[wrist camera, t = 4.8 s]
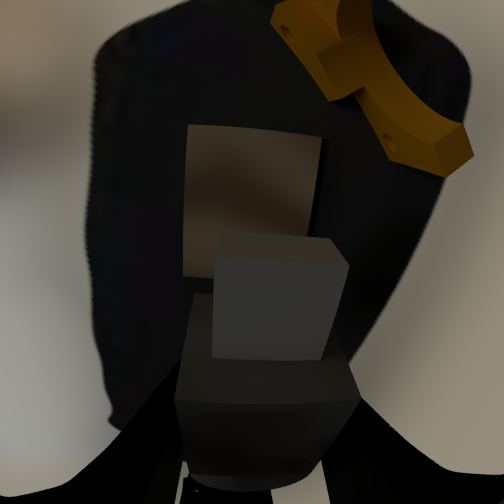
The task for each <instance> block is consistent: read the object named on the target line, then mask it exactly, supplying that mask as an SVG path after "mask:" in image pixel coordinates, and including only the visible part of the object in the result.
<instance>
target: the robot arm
mask: <svg viewBox="0 0 504 504" xmlns="http://www.w3.org/2000/svg"><path fill="white" fill-rule="evenodd" d="M180 364H181V359H180V360H179V361H178V362H177V364H176V365H175V366H174V367H173V369H172V370H171V371H170V372H169V374H168V375H167V376H166V377H165V378H164V380H163V381H162V382H161V383H160V385H159V386H158V387H157V388H156V390H155V391H154V392H153V393H152V394H151V396H150V397H149V398H148V399H147V401H146V402H145V403H144V404H143V405H142V407H141V408H140V409H139V410H138V412H137V413H136V414H135V415H134V416H133V418H132V419H131V420H130V421H129V423H128V424H127V425H126V426H125V428H126V429H125V428H123V430H122V431H121V432H120V433H119V435H118V436H117V437H116V438H115V439H114V440H113V441H112V442H111V444H110V445H109V446H108V447H107V448H106V449H105V450H104V451H103V452H102V453H101V454H100V455H99V456H97V457H96V458H95V459H94V460H93V461H92V462H91V463H90V464H88V465H87V466H86V467H85V468H84V469H83V470H82V471H80V472H79V473H78V474H77V475H76V476H75V477H73V478H72V479H71V480H70V481H68V482H66V483H64V484H62V485H60V486H57V487H54V488H50V489H46V490H42V491H39V492H34V493H30V494H25V495H21V496H15V497H4V496H0V504H175V499H176V493H177V488H178V483H179V477H180V472H181V467H182V462H183V457H184V448H183V443H182V438H181V433H180V428H179V423H178V418H177V412H176V406H175V400H174V397H175V392H176V386H177V380H178V375H179V369H180ZM321 462H322V467H323V471H324V476H325V481H326V485H327V490H328V495H329V500H330V504H504V474H502V475H485V474H471V473H459V472H453V471H450V470H447V469H445V468H443V467H441V466H439V465H438V464H437V463H436V462H434V461H433V460H431V459H430V458H428V457H427V456H426V455H425V454H423V453H422V452H420V451H419V450H418V449H416V448H415V447H414V446H413V445H411V444H410V443H409V442H408V441H407V440H405V439H404V438H403V437H402V436H401V435H400V434H399V433H398V432H397V431H395V429H393V428H392V427H390V425H389V424H388V423H387V422H386V421H385V420H384V419H383V418H382V417H381V416H380V415H379V414H378V413H377V412H376V411H375V410H374V409H373V408H372V407H371V406H370V405H369V404H368V403H367V402H366V401H365V400H364V399H362V397H361V400H360V402H359V403H358V405H357V407H356V408H355V410H354V412H353V413H352V415H351V416H350V418H349V420H348V421H347V423H346V424H345V426H344V427H343V429H342V430H341V432H340V433H339V435H338V436H337V438H336V439H335V441H334V442H333V444H332V445H331V446H330V448H329V449H328V451H327V452H326V453H325V455H324V456H323V458H322V459H321ZM196 490H198V492H196ZM179 504H273V500H272V496H271V490H264V491H249V492H242V491H228V490H221V489H216V488H212V487H209V486H206V485H203V484H201V483H199V482H197V481H195V480H194V479H193V478H192V477H191V476H190V474H188V477H186V478H183V489H182V494H181V499H180V503H179Z"/></svg>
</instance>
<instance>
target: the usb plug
mask: <svg viewBox="0 0 504 504" xmlns="http://www.w3.org/2000/svg"><path fill="white" fill-rule="evenodd" d="M348 269H349V265H348V263H347V262H346V260H345V259H344V258H343V256H342V255H341V254H340V252H339V251H338V249H337V248H336V247H335V245H334V244H333V243H332V241H331V240H330V239H327V238H316V237H304V236H292V235H279V234H266V233H253V232H240V231H226V230H219V235H218V242H217V248H216V254H215V270H214V295H212V294H199V293H195V295H194V300H193V304H192V309H191V314H190V318H189V323H188V328H187V333H186V338H185V343H184V348H183V353H182V359H181V364H180V369H179V375H178V380H177V386H176V392H175V397H174V400H175V406H176V412H177V418H178V423H179V428H180V433H181V438H182V443H183V448H184V452H185V457H186V461H187V465H188V470H189V474H190V476H191V477H192V478H193V479H194V480H195V481H197V482H199V483H201V484H203V485H206V486H209V487H212V488H216V489H221V490H228V491H242V492H249V491H264V490H271V489H276V488H281V487H285V486H288V485H291V484H293V483H296V482H298V481H300V480H302V479H304V478H305V477H307V476H308V475H309V474H310V473H311V472H312V471H313V469H314V468H315V467H316V465H317V464H318V463H319V462H320V460H321V459H322V458H323V456H324V455H325V453H326V452H327V451H328V449H329V448H330V446H331V445H332V444H333V442H334V441H335V439H336V438H337V436H338V435H339V433H340V432H341V430H342V429H343V427H344V426H345V424H346V423H347V421H348V420H349V418H350V416H351V415H352V413H353V412H354V410H355V408H356V407H357V405H358V403H359V402H360V400H361V395H360V392H359V390H358V387H357V385H356V382H355V380H354V377H353V374H352V372H351V369H350V367H349V364H348V362H347V359H346V357H345V355H344V352H343V350H342V347H341V345H340V342H339V340H338V338H337V335H336V333H335V330H334V328H333V326H332V324H333V321H334V318H335V314H336V311H337V308H338V305H339V301H340V298H341V294H342V291H343V287H344V284H345V280H346V277H347V273H348Z"/></svg>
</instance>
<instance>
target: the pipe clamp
mask: <svg viewBox="0 0 504 504" xmlns="http://www.w3.org/2000/svg"><path fill="white" fill-rule="evenodd" d="M372 1H373V0H286V1H284V2H282V3H279V4H277V5H276V7H275V10H274V13H273V16H272V18H271V21H270V24H271V25H272V26H273V27H274V29H275V30H276V31H277V32H278V33H279V35H280V36H281V37H282V38H283V39H284V41H285V42H286V43H287V44H288V46H289V47H290V48H291V49H292V51H293V52H294V53H295V54H296V56H297V57H298V58H299V60H300V61H301V62H302V64H303V65H304V66H305V68H306V69H307V70H308V72H309V73H310V75H311V76H312V77H313V79H314V80H315V82H316V83H317V84H318V86H319V87H320V89H321V90H322V92H323V93H324V95H325V96H326V98H327V99H328V101H329V102H330V101H334V100H338V99H342V98H343V97H345V96H347V95H349V94H350V93H353V95H354V97H355V98H356V100H357V101H358V103H359V105H360V106H361V108H362V110H363V111H364V113H365V115H366V117H367V118H368V120H369V122H370V124H371V125H372V127H373V129H374V131H375V133H376V134H377V136H378V138H379V140H380V142H381V144H382V146H383V148H384V150H385V152H386V154H387V156H388V158H389V160H390V161H394V162H397V163H401V164H404V165H408V166H411V167H414V168H417V169H421V170H424V171H427V172H430V173H433V174H436V175H439V176H442V177H445V178H446V177H448V176H449V175H450V174H452V173H453V172H454V171H456V170H457V169H458V168H459V167H460V166H462V165H463V164H464V163H466V162H467V161H468V160H470V159H471V158H472V157H473V156H474V154H473V151H472V148H471V145H470V142H469V139H468V136H467V133H466V131H465V128H464V125H463V123H457V122H454V121H451V120H449V119H446V118H445V117H443V116H441V115H439V114H438V113H436V112H435V111H433V110H432V109H430V108H429V107H428V106H427V105H425V104H424V103H423V102H422V101H421V100H420V99H419V98H418V97H417V96H416V95H415V94H414V93H413V92H412V91H411V90H410V89H409V88H408V86H407V85H406V84H405V83H404V82H403V80H402V79H401V78H400V76H399V75H398V74H397V72H396V71H395V69H394V68H393V66H392V65H391V63H390V61H389V60H388V58H387V56H386V54H385V53H384V51H383V49H382V46H381V44H380V42H379V40H378V37H377V34H376V31H375V28H374V24H373V19H372Z"/></svg>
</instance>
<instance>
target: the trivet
mask: <svg viewBox="0 0 504 504" xmlns="http://www.w3.org/2000/svg"><path fill="white" fill-rule="evenodd" d="M321 140H322V138H321V137H315V136H308V135H302V134H295V133H287V132H279V131H271V130H262V129H252V128H240V127H227V126H209V125H188V137H187V152H186V169H185V192H184V229H183V276H188V277H201V278H214V270H215V254H216V248H217V242H218V235H219V230H226V231H240V232H253V233H266V234H279V235H292V236H304V237H307V234H308V228H309V222H310V216H311V210H312V203H313V197H314V191H315V184H316V177H317V170H318V163H319V156H320V148H321Z"/></svg>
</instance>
